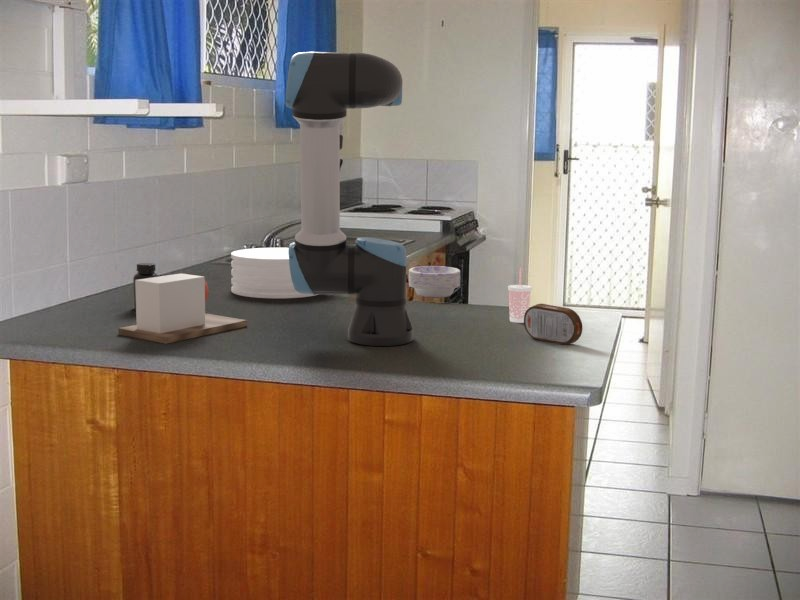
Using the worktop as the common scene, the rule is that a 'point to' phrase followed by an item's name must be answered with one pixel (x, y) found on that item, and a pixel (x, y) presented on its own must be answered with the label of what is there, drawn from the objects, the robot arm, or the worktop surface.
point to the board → (186, 330)
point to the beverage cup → (518, 301)
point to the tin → (553, 324)
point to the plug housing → (170, 302)
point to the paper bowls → (434, 280)
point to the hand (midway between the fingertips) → (323, 223)
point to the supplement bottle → (143, 276)
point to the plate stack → (263, 273)
